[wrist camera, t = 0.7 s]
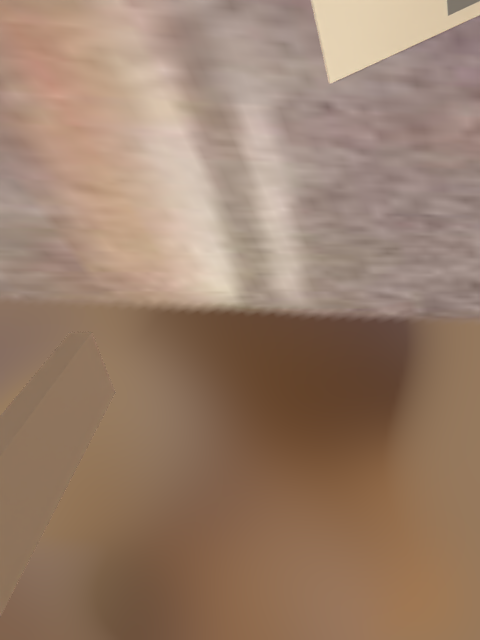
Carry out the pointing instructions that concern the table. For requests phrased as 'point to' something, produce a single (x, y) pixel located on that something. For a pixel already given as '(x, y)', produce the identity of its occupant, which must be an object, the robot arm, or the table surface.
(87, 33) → the table surface
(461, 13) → the cream base board
